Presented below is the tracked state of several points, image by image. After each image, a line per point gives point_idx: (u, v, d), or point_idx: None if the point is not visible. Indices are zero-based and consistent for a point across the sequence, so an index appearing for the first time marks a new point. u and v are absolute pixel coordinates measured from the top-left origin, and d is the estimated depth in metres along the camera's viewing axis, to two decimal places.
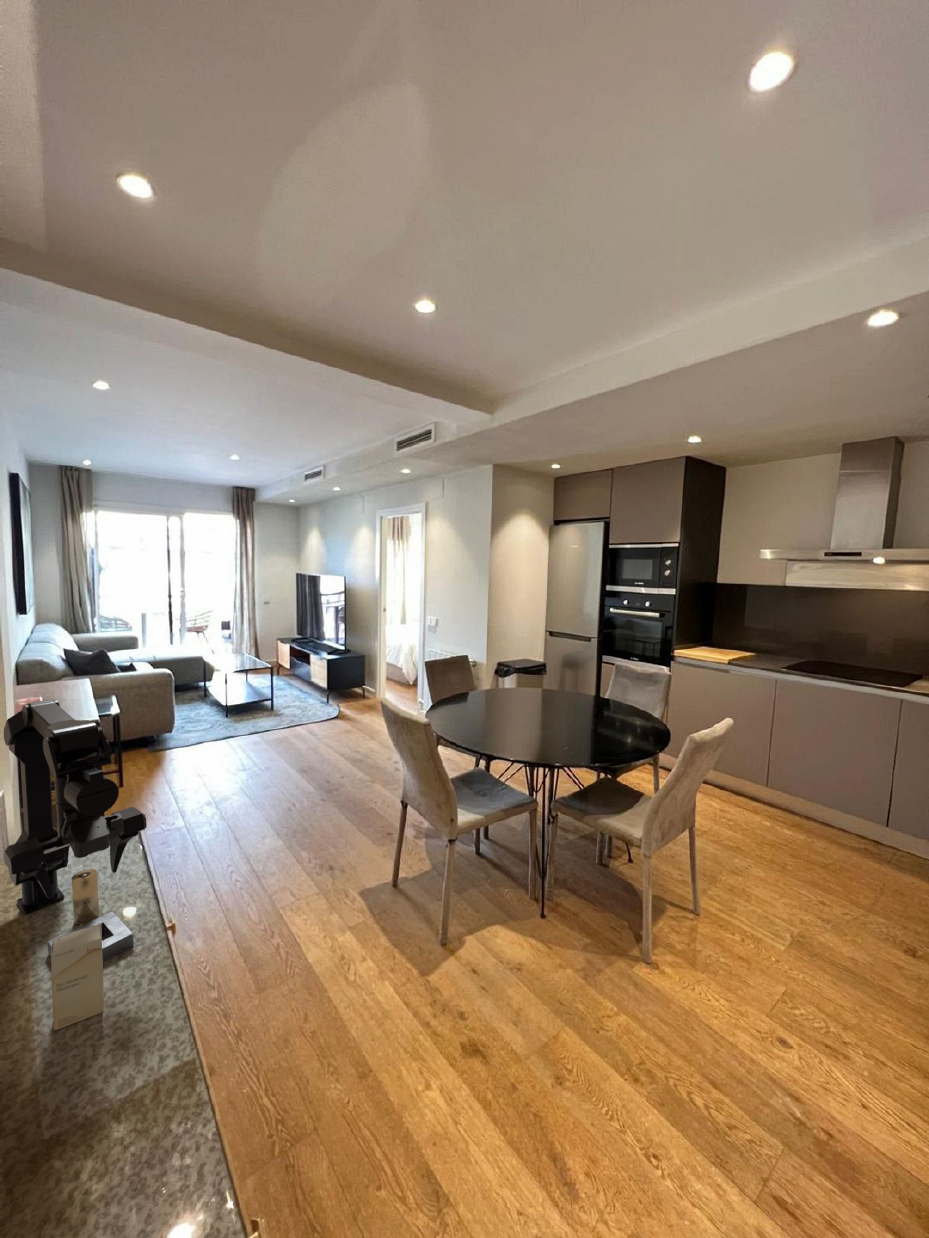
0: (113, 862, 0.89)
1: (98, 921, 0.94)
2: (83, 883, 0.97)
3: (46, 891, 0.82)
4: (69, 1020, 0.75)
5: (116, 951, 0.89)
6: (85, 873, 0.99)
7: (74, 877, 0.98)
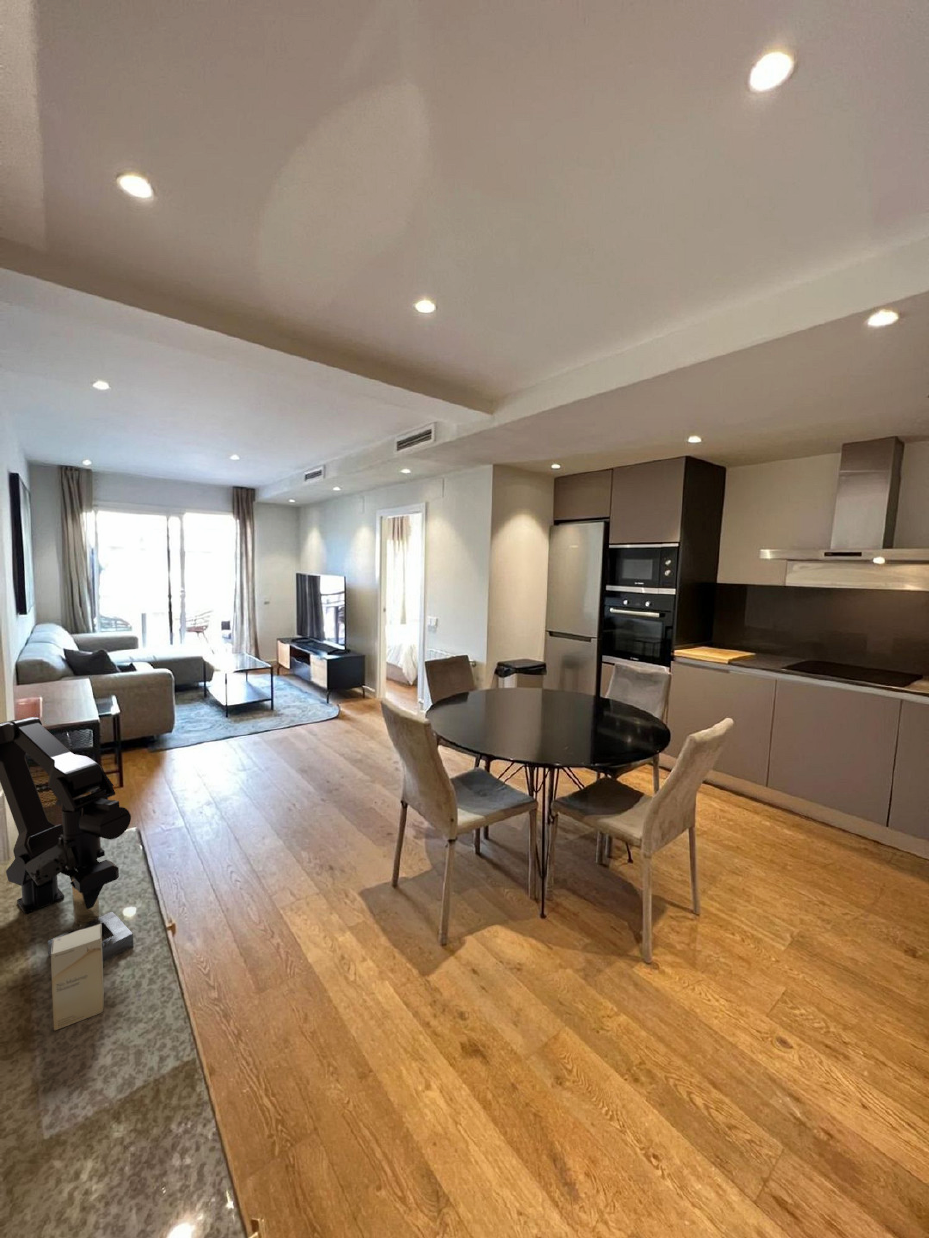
0: None
1: (98, 921, 0.94)
2: None
3: None
4: (69, 1020, 0.75)
5: (116, 951, 0.89)
6: None
7: None
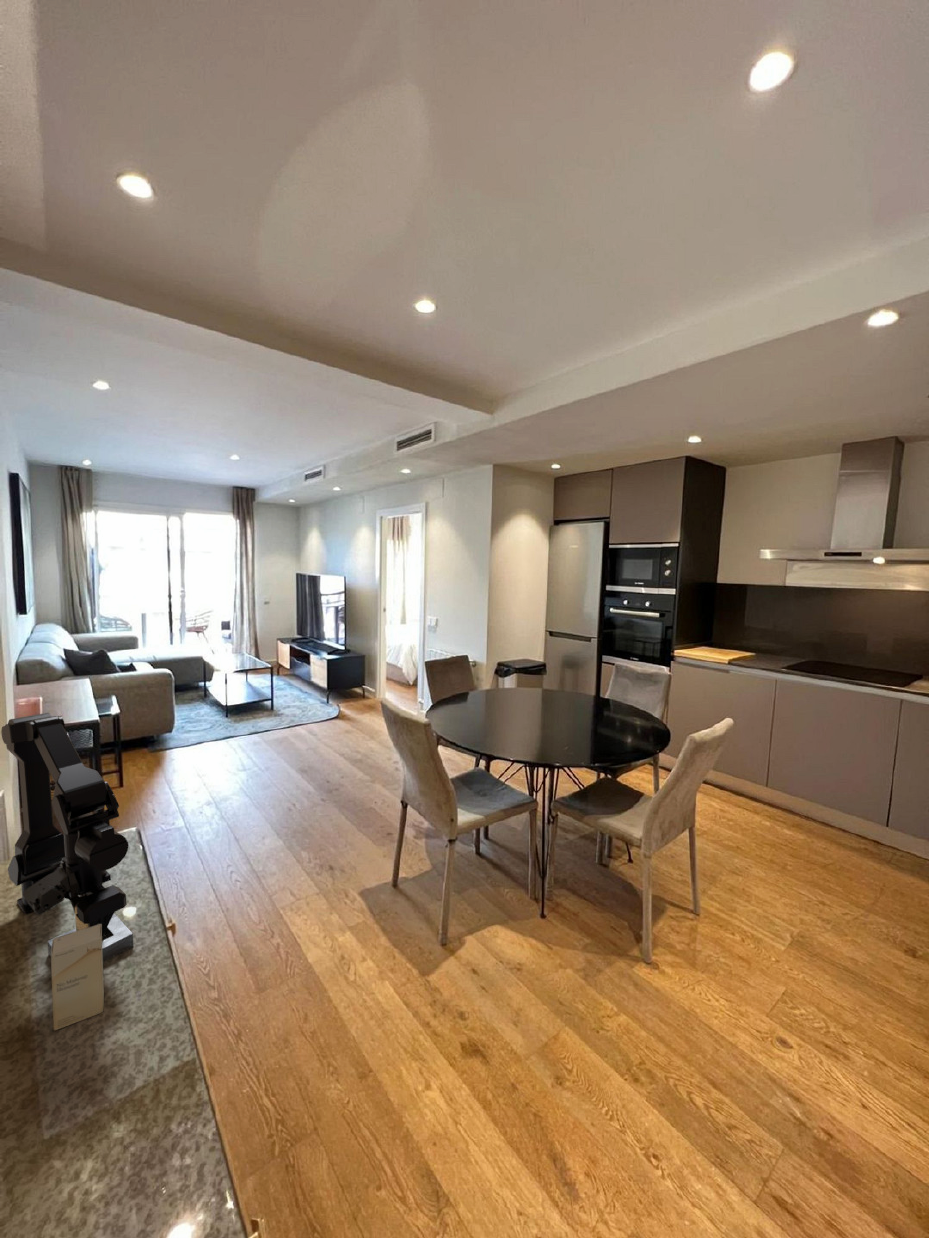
0: None
1: None
2: None
3: None
4: (69, 1020, 0.75)
5: (116, 951, 0.89)
6: None
7: None
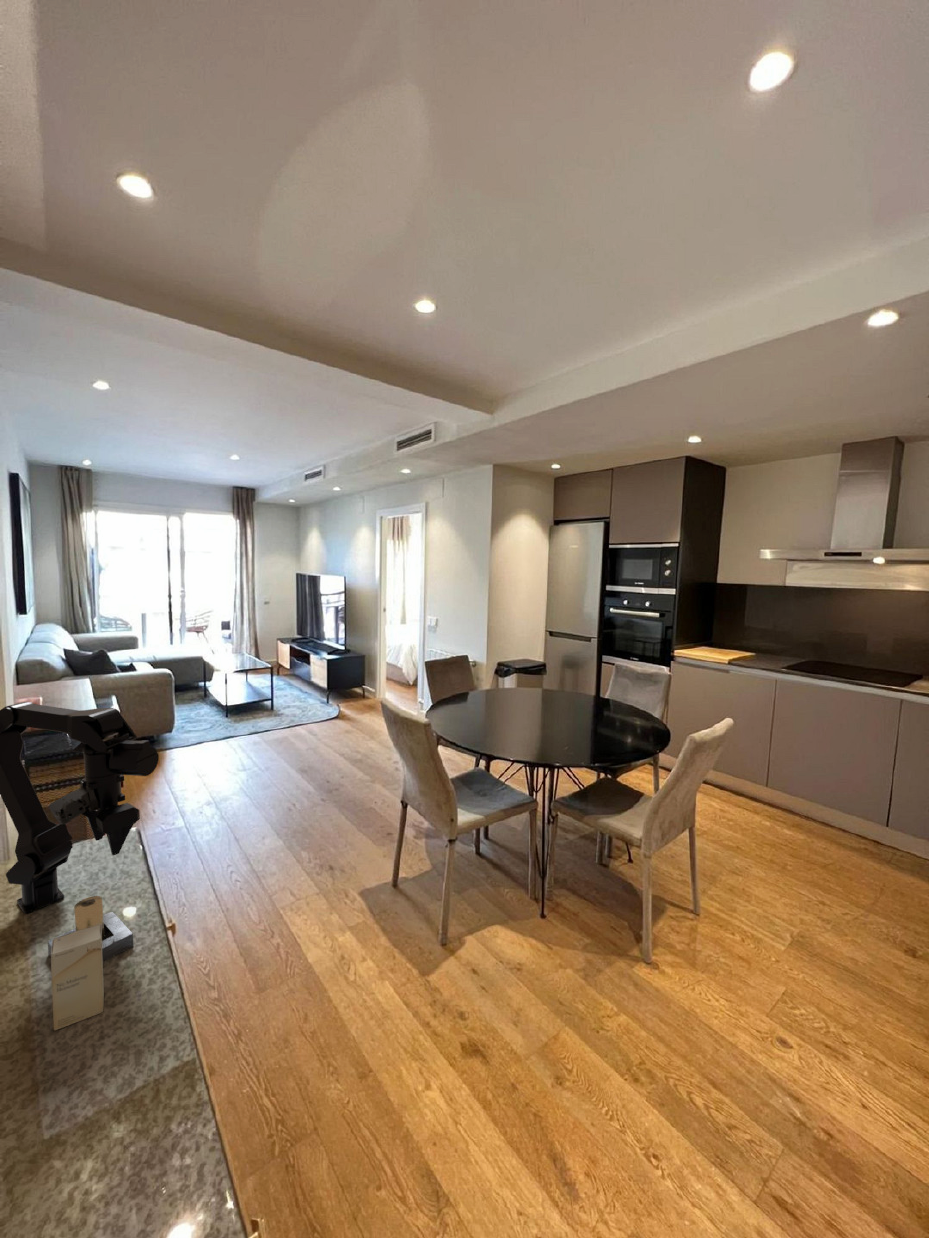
0: None
1: None
2: (87, 913, 0.88)
3: None
4: (69, 1020, 0.75)
5: (116, 951, 0.89)
6: (89, 901, 0.90)
7: (77, 905, 0.89)
